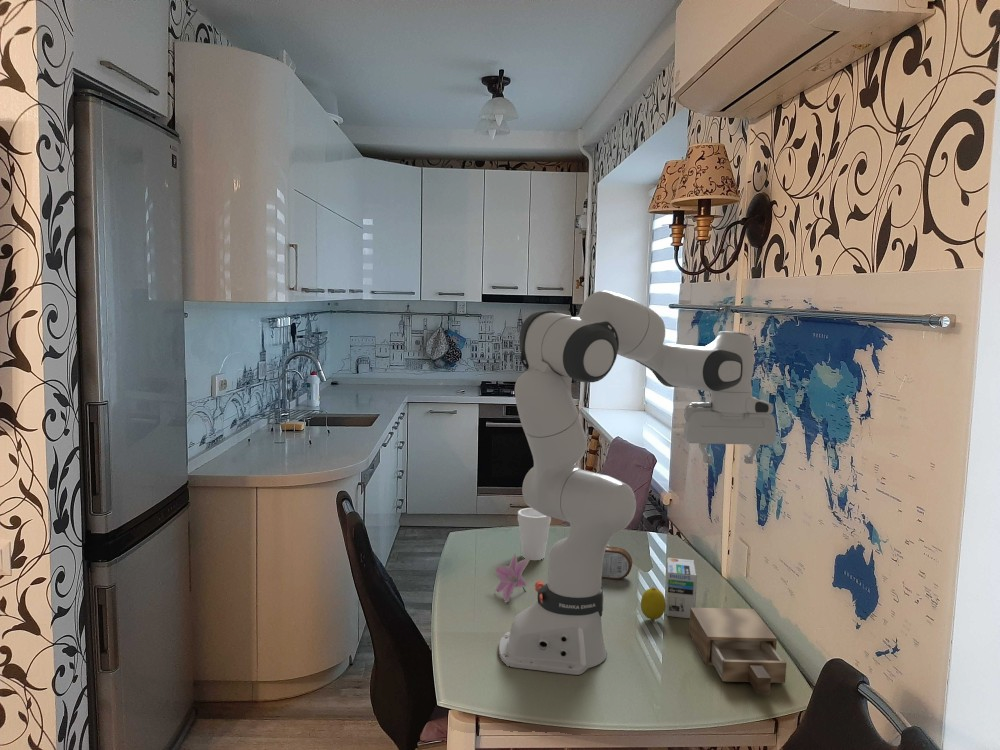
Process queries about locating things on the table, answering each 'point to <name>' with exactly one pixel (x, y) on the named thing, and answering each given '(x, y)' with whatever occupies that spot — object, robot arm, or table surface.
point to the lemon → (653, 603)
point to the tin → (616, 563)
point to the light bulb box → (680, 587)
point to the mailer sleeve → (726, 628)
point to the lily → (511, 577)
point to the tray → (748, 663)
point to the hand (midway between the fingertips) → (727, 462)
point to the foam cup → (533, 533)
